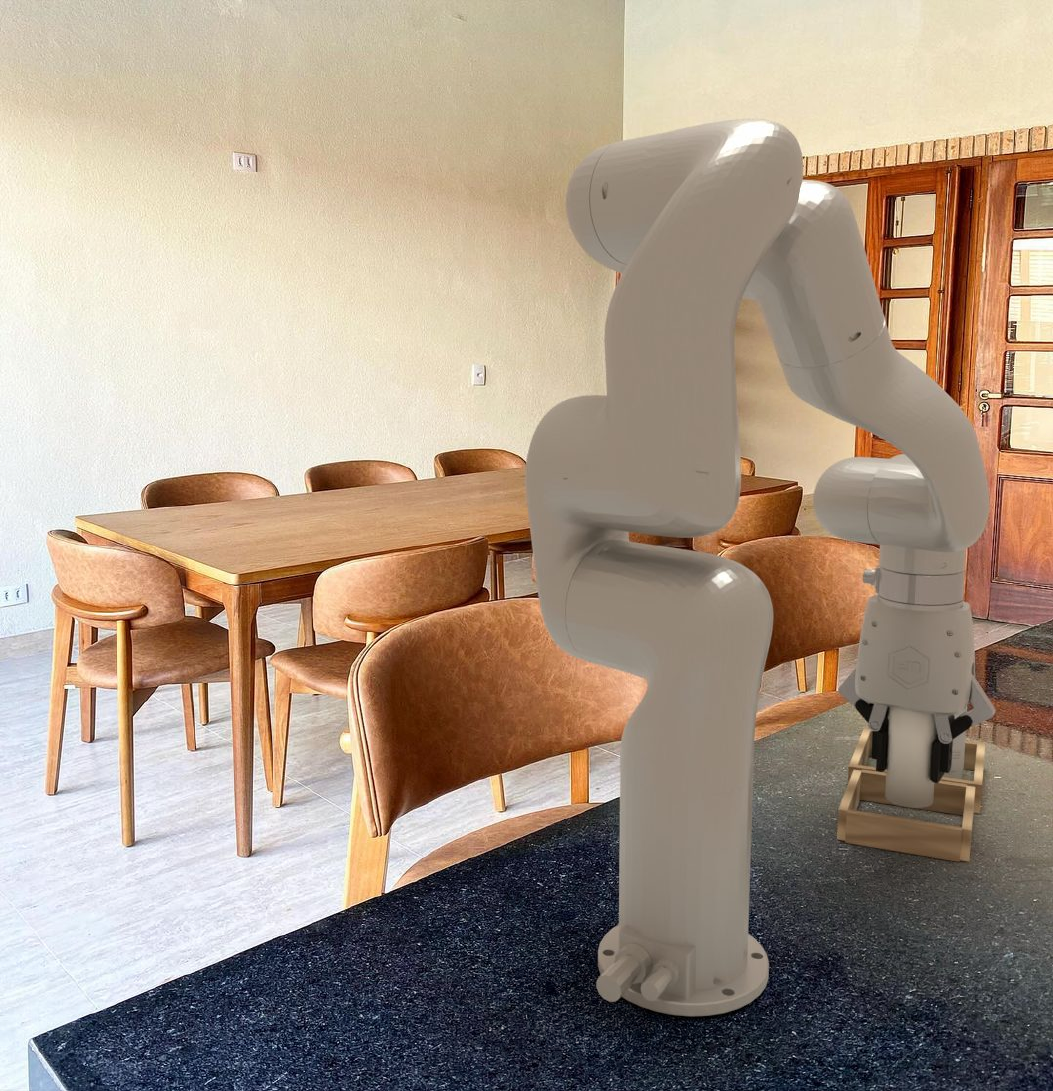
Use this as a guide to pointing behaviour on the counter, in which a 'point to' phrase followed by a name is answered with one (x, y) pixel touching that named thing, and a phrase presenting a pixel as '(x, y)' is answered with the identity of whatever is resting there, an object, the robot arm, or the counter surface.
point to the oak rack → (916, 833)
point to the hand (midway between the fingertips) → (910, 770)
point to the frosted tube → (910, 758)
